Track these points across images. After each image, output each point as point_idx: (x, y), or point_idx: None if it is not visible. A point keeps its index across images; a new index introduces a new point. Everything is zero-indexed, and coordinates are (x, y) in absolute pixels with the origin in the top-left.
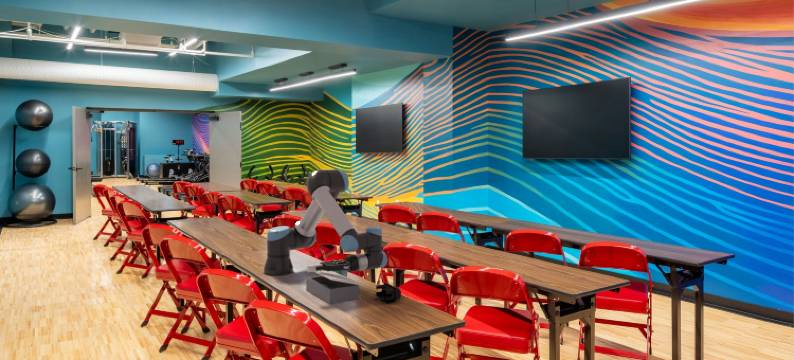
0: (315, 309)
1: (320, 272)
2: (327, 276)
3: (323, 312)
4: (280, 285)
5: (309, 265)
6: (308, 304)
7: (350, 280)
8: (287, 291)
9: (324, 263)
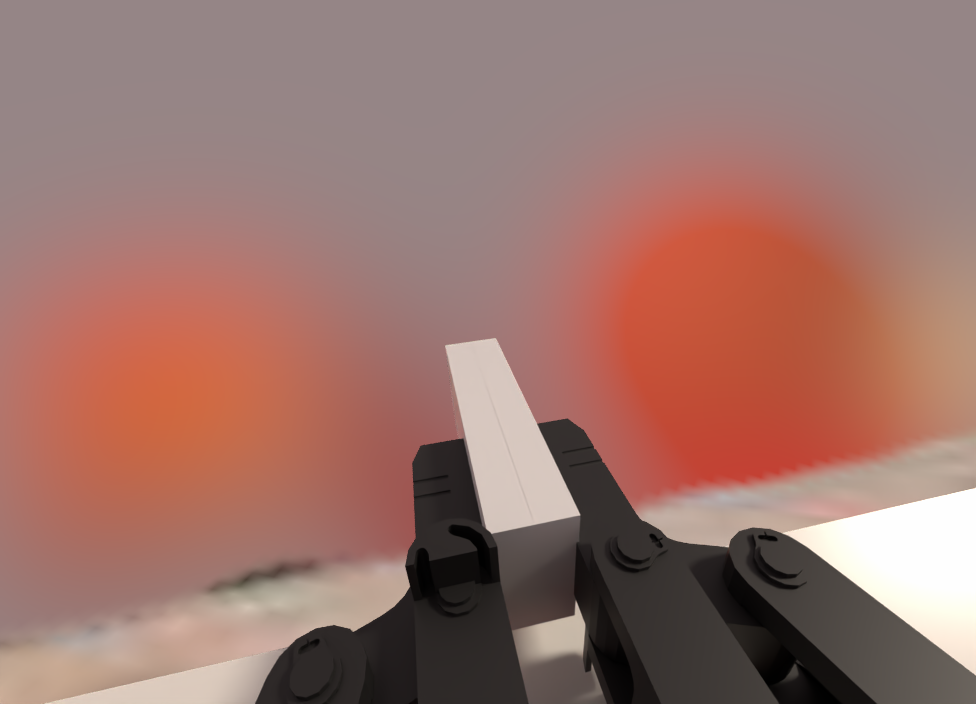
0: (167, 625)
1: (540, 628)
2: (116, 689)
3: (29, 678)
4: (928, 480)
5: (484, 353)
6: (330, 596)
7: None
8: (742, 504)
9: (411, 550)
